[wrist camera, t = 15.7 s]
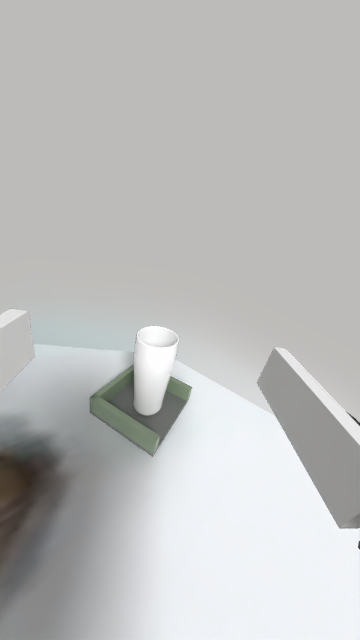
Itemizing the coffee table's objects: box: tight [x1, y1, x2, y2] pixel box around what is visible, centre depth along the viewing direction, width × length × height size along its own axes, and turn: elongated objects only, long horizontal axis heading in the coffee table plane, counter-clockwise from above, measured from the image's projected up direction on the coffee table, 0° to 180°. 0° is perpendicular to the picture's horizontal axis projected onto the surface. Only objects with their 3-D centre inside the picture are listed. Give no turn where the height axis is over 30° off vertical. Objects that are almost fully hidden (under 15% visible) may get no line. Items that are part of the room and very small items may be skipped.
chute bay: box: [90, 364, 192, 456], centre depth 36 cm, size 13×13×4 cm
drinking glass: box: [133, 326, 179, 416], centre depth 33 cm, size 7×7×15 cm
